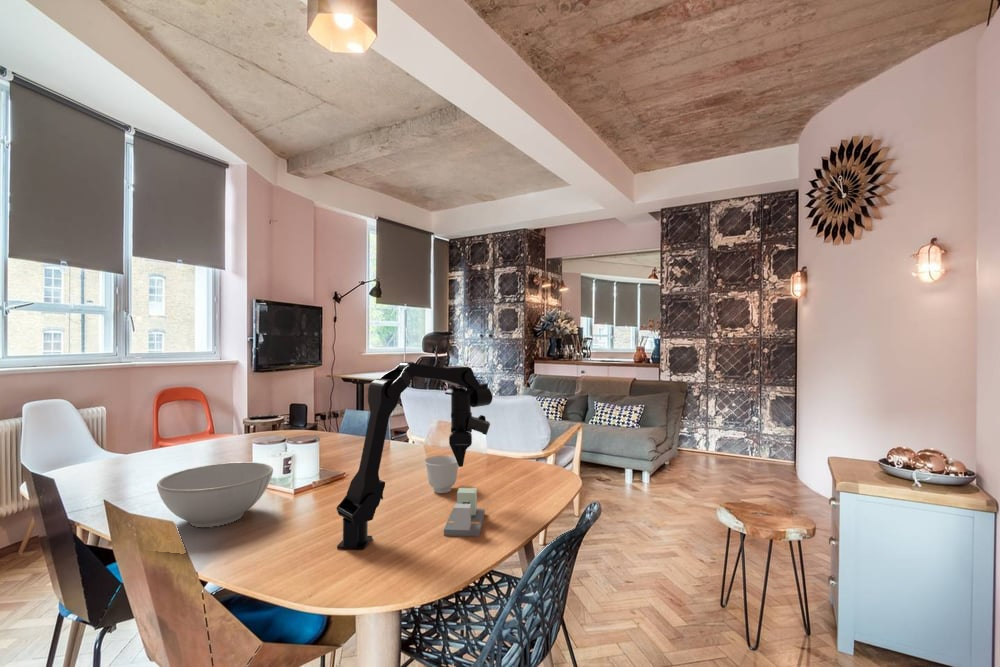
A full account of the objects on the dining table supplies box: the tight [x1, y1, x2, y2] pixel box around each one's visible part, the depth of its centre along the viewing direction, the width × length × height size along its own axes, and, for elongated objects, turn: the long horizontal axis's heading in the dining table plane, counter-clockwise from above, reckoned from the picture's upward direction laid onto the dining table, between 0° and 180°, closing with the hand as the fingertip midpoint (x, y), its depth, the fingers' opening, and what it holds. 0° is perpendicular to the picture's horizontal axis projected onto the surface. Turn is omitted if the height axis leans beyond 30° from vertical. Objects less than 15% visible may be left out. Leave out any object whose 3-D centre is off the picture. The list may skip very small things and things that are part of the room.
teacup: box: [423, 454, 459, 494], centre depth 149 cm, size 12×15×10 cm
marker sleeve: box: [456, 487, 478, 515], centre depth 123 cm, size 4×5×6 cm
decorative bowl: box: [156, 461, 274, 528], centre depth 122 cm, size 27×27×12 cm
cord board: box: [443, 502, 486, 538], centre depth 120 cm, size 15×9×7 cm, turn 177°
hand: (461, 462), depth 131 cm, fingers open, 9 cm apart
